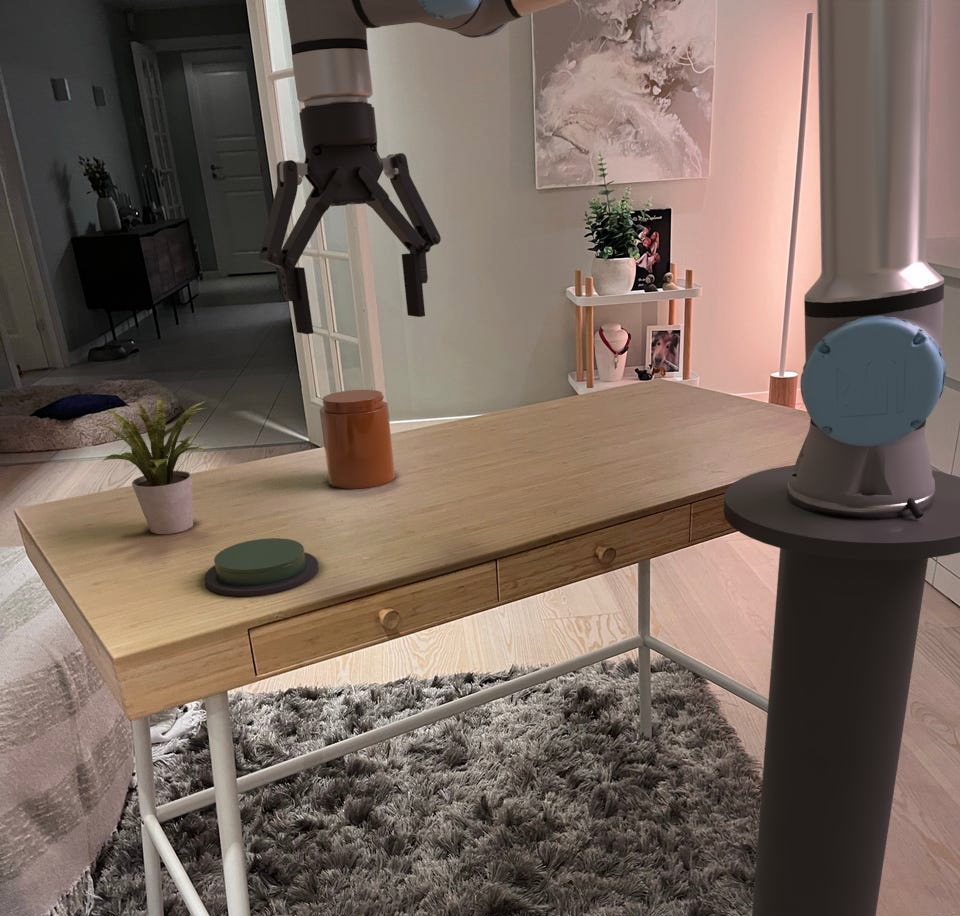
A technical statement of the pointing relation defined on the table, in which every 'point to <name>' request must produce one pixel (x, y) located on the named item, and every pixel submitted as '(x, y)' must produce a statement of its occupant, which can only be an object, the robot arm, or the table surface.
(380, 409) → the jar
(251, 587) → the coaster
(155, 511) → the house plant
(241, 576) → the jar lid
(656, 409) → the table surface
